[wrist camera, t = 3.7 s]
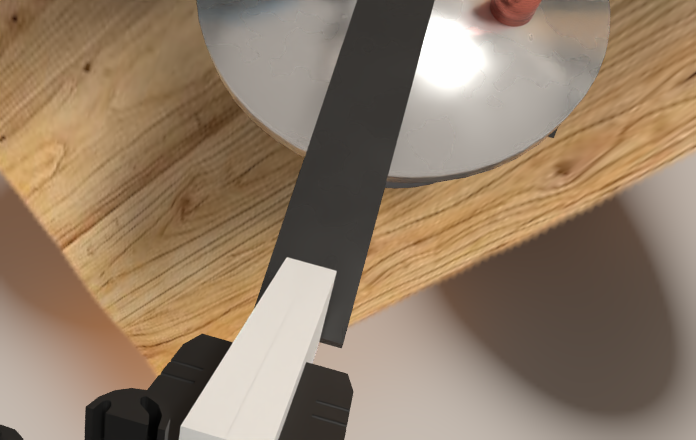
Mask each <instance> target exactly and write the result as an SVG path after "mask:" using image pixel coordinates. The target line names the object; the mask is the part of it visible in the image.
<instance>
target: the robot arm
mask: <svg viewBox="0 0 696 440" xmlns="http://www.w3.org/2000/svg"><path fill="white" fill-rule="evenodd" d="M336 273H337V271H335V270H332V269H328V268H324V267H321V266H317V265H313V264H310V263H306V262H302V261H299V260H295V259H292V258H288V257H287V258H286V259H285V261H284V262H283V264H282V266H281V267H280V269H279V270H278V272H277V273H276V275H275V277H274V278H273V280H272V281H271V283H270V285H269V286H268V288H267V289H266V291H265V293H264V294H263V296H262V297H261V299H260V301H259V302H258V304H257V305H256V307H255V308H254V310H253V312H252V313H251V315H250V316H249V318H248V320H247V321H246V323H245V324H244V326H243V328H242V329H241V331H240V332H239V334H238V335H237V337H236V339H235V340H234V342H229V341H226V340H222V339H219V338H215V337H212V336H208V335H205V334H201V335H199V336H197V337H195V338H194V339H192V340H190V341H188V342H186V343H185V344H183V345H182V347H181V348H180V349H179V350H178V352H177V353H176V354H175V355H174V357H173V358H172V359H171V362H169V363H168V364H167V366H166V367H165V368H164V369H163V371H162V372H161V375H159V376H158V377H157V378H156V379H155V381H154V382H153V383H152V385H151V386H150V387H149V388H148V390H141V389H134V388H129V389H122V390H115V391H112V392H110V393H107V394H105V395H102V396H100V397H98V398H97V399H95V400H94V401H93V402H91V403H90V404H89V405H88V406H86V415H85V440H344V438H345V432H346V427H347V422H348V417H349V411H350V407H351V401H352V396H353V389H352V386H351V383H350V380H349V376H348V374H346V373H343V372H339V371H336V370H332V369H329V368H325V367H322V366H318V365H314V364H312V363H313V360H314V357H315V354H316V351H317V349H318V345H319V341H320V337H321V333H322V329H323V325H324V321H325V317H326V313H327V309H328V305H329V301H330V297H331V293H332V289H333V285H334V281H335V277H336ZM0 440H23V438H22V437H21V436H20V435H19V433H18V432H17V431H16V430H15V429H12V428H9V427H6V426H3V425H0Z"/></svg>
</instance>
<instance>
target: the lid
mask: <svg viewBox="0 0 696 440" xmlns="http://www.w3.org/2000/svg"><path fill="white" fill-rule="evenodd" d="M197 9H198V17H199V23H200V26H201V29H202V33H203V36H204V40H205V43H206V46H207V49H208V51H209V54H210V57H211V60H212V62H213V64H214V66H215V68H216V70H217V73H218V75H219V77H220V79H221V81H222V83H223V84H224V86H225V87H226V89H227V90H228V92H229V93H230V95H231V96H232V98H233V99H234V101H235V102H236V103H237V104H238V106H239V107H240V108H241V109H242V110H243V111H244V112H245V113H246V114H247V116H248V117H249V118H250V119H251V120H252V121H253V122H254V123H255V124H256V125H258V126H259V127H260V128H261V129H262V130H264V131H265V132H266V133H267V134H268V135H270V136H271V137H272V138H273V139H275V140H276V141H278V142H279V143H281V144H282V145H284V146H286V147H287V148H289V149H290V150H292V151H293V152H295V153H296V154H298V155H301V156H303V157H305V158H304V161H303V164H302V167H301V170H300V173H299V176H298V179H297V182H296V185H295V188H294V191H293V194H292V197H291V200H290V203H289V206H288V209H287V212H286V215H285V218H284V221H283V224H282V227H281V230H280V233H279V236H278V239H277V242H276V245H275V248H274V251H273V254H272V257H271V260H270V263H269V266H268V269H267V272H266V275H265V278H264V281H263V284H262V287H261V290H260V293H259V296H258V299H257V301H256V304H255V307H256V305H257V304H258V302H259V301H260V299H261V297H262V296H263V294H264V293H265V291H266V289H267V288H268V286H269V285H270V283H271V281H272V280H273V278H274V277H275V275H276V273H277V272H278V270H279V269H280V267H281V266H282V264H283V262H284V261H285V259H286V258H287V257H288V258H292V259H295V260H299V261H302V262H306V263H310V264H313V265H317V266H321V267H324V268H328V269H332V270H335V271H337V273H336V277H335V281H334V285H333V289H332V293H331V297H330V301H329V305H328V309H327V313H326V317H325V321H324V325H323V329H322V333H321V337H320V341H319V342H321V343H324V344H328V345H332V346H335V347H338V348H342V345H343V342H344V339H345V335H346V331H347V327H348V324H349V320H350V316H351V312H352V309H353V305H354V301H355V297H356V294H357V290H358V286H359V282H360V279H361V275H362V271H363V267H364V264H365V260H366V256H367V252H368V249H369V245H370V241H371V237H372V234H373V230H374V226H375V222H376V219H377V215H378V211H379V207H380V204H381V200H382V196H383V192H384V189H385V185H386V182H398V183H428V182H441V181H447V180H453V179H459V178H465V177H469V176H472V175H475V174H479V173H482V172H485V171H489V170H492V169H494V168H496V167H499V166H501V165H503V164H505V163H507V162H510V161H512V160H514V159H516V158H518V157H519V156H521V155H523V154H524V153H526V152H527V151H529V150H530V149H532V148H534V147H535V146H537V145H538V144H539V143H541V142H542V141H543V140H544V139H545V138H546V137H547V136H549V135H550V134H551V133H552V132H553V131H554V130H555V129H557V128H558V126H559V125H560V124H561V123H562V122H563V121H564V120H565V119H566V118H567V116H568V115H569V114H570V113H571V112H572V111H573V109H574V108H575V107H576V106H577V105H578V103H579V102H580V101H581V100H582V99H583V97H584V96H585V95H586V93H587V92H588V90H589V88H590V87H591V85H592V83H593V82H594V80H595V78H596V76H597V75H598V72H599V69H600V67H601V64H602V61H603V59H604V56H605V53H606V48H607V43H608V38H609V33H610V5H609V0H197ZM255 307H254V308H255Z"/></svg>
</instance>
